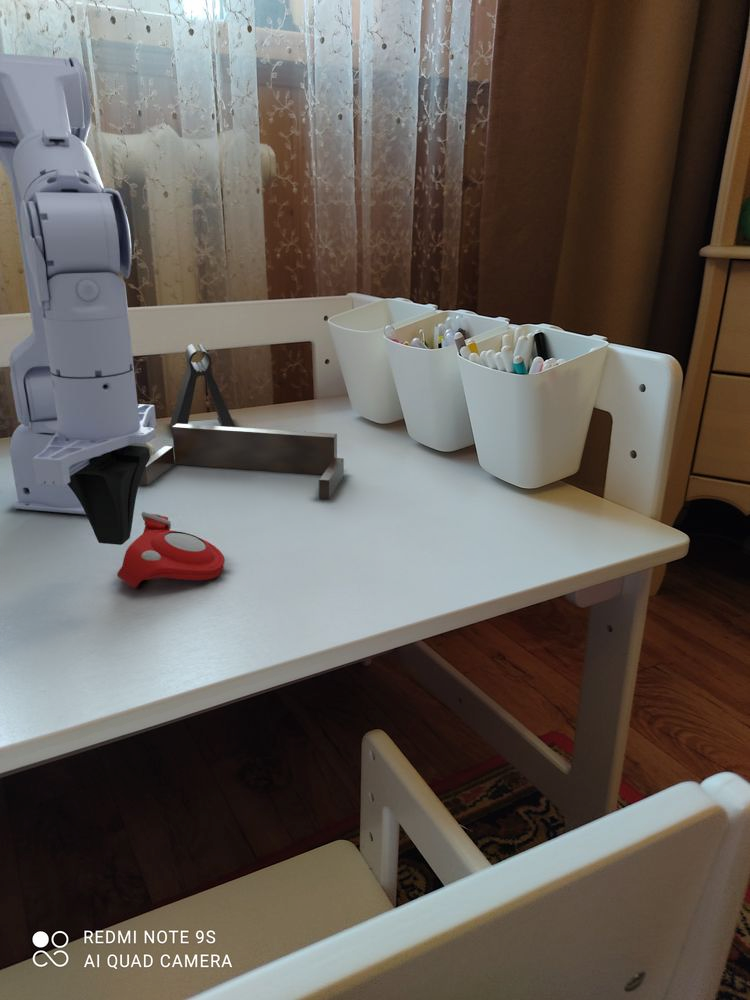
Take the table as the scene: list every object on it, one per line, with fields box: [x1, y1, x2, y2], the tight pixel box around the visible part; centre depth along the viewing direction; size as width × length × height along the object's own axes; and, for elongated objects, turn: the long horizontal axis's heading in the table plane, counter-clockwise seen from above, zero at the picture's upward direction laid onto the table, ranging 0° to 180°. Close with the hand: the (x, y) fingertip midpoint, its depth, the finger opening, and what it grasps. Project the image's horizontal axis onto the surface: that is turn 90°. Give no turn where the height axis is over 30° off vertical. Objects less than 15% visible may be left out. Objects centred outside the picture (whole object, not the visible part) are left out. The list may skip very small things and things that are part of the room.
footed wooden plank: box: [139, 424, 345, 501], centre depth 94 cm, size 23×10×5 cm, turn 80°
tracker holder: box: [116, 511, 226, 589], centre depth 71 cm, size 12×4×10 cm
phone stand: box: [170, 343, 236, 428], centre depth 112 cm, size 9×6×12 cm, turn 108°
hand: (114, 540), depth 61 cm, fingers closed
